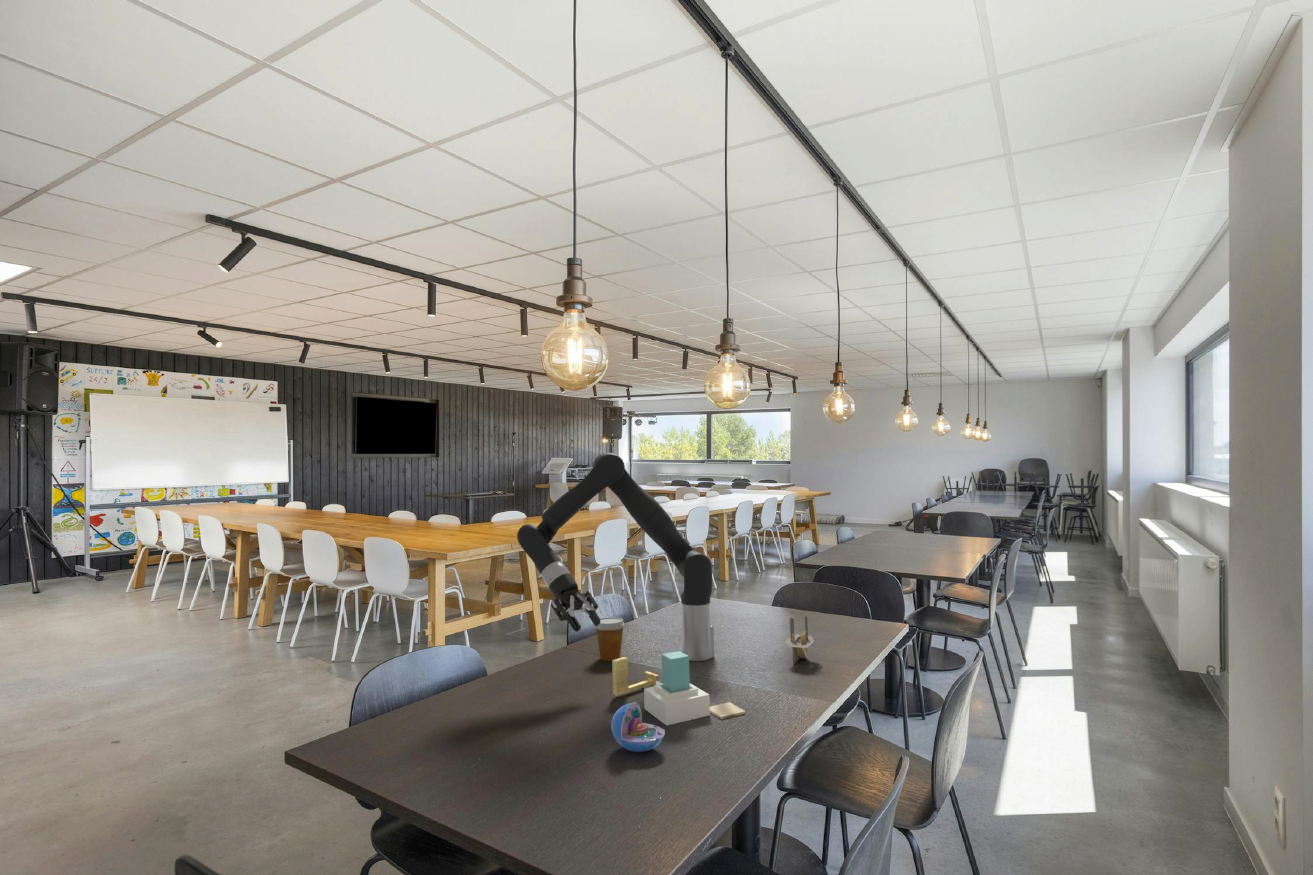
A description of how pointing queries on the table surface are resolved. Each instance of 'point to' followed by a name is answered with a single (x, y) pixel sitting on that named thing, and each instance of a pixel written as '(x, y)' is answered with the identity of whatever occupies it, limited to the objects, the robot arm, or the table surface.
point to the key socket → (651, 685)
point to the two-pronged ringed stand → (794, 642)
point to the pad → (726, 710)
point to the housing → (676, 704)
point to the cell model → (634, 729)
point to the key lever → (622, 677)
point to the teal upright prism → (675, 671)
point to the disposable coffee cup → (610, 637)
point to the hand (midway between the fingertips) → (588, 626)
